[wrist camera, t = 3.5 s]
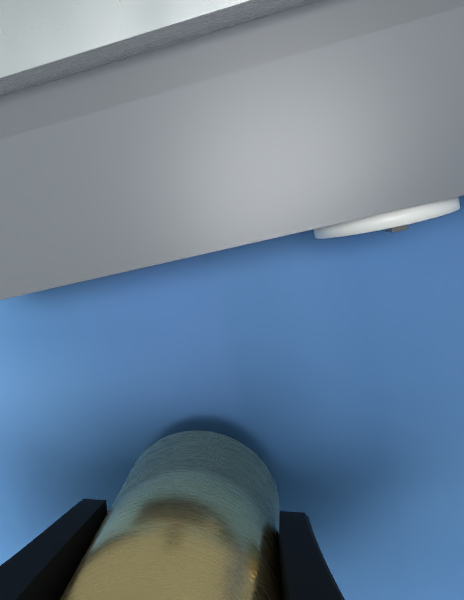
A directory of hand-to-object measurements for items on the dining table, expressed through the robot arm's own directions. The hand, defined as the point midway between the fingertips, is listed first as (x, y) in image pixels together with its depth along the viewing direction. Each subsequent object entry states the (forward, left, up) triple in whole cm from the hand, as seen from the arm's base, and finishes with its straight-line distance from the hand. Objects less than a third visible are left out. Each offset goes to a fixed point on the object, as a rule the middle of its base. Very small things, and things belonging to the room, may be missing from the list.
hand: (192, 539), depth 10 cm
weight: (0, 0, -1) cm, 1 cm away
